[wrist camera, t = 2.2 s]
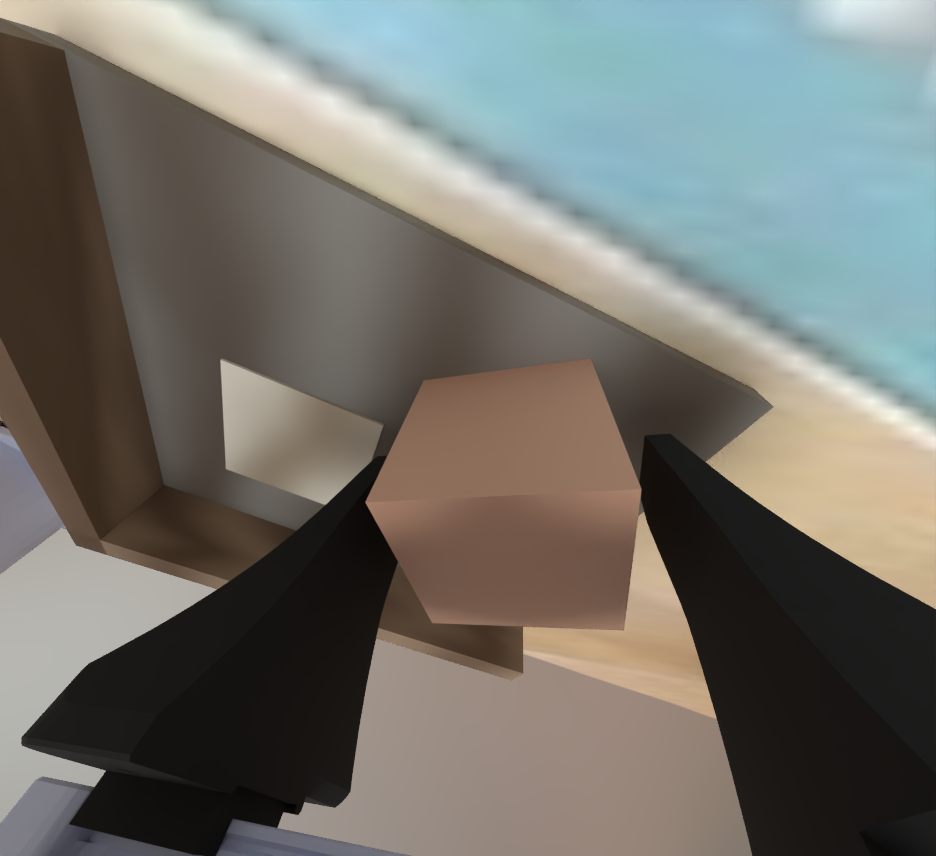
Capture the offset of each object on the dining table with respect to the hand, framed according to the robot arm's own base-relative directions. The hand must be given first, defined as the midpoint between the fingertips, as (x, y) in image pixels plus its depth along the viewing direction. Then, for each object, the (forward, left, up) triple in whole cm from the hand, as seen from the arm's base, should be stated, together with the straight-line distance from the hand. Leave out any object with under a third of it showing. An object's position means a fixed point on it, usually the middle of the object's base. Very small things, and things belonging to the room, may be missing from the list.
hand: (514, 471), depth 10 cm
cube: (0, 0, -2) cm, 2 cm away
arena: (-4, -4, -3) cm, 6 cm away
